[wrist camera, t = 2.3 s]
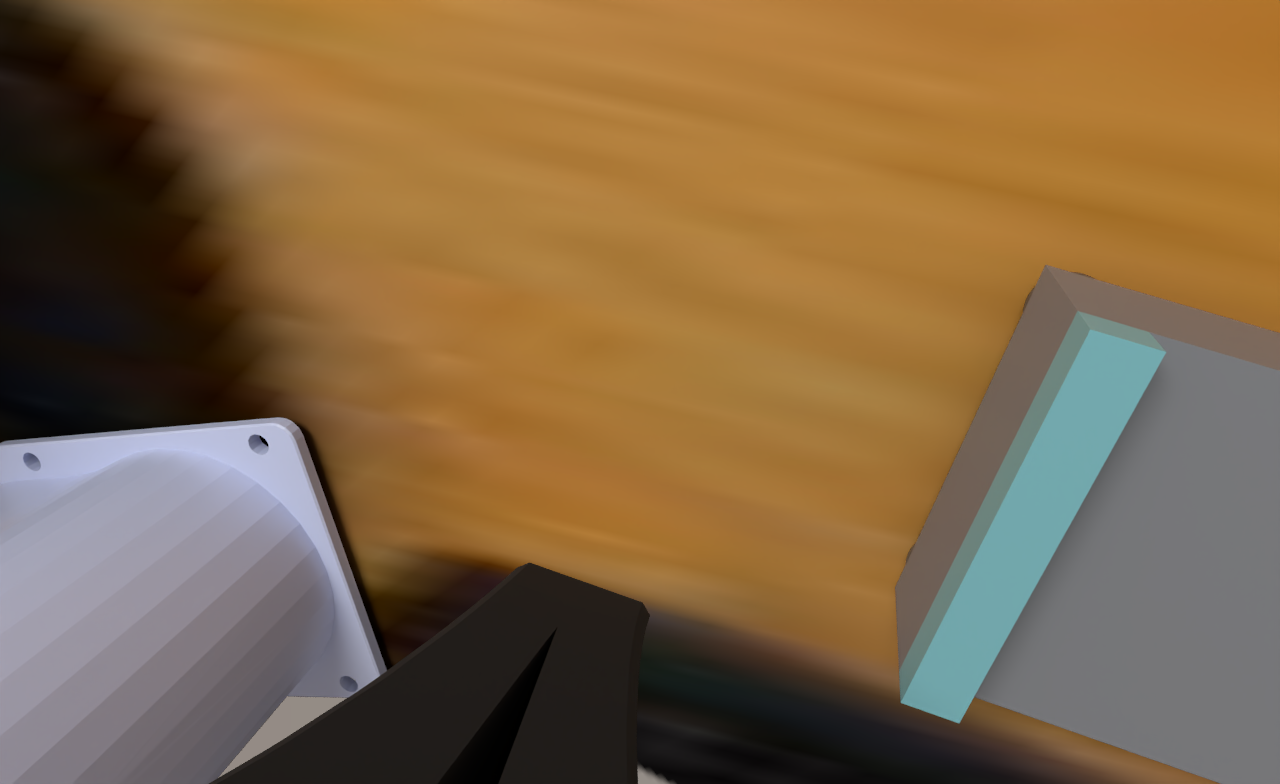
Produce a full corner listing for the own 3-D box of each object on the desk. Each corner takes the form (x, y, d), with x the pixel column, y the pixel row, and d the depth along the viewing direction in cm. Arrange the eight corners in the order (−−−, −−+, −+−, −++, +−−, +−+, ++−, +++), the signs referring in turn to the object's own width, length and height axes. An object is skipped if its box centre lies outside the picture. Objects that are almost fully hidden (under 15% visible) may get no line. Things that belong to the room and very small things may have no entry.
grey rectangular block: (894, 564, 18) (900, 702, 15) (1037, 253, 15) (1090, 329, 12) (1388, 731, 17) (1529, 925, 14) (1651, 431, 14) (1924, 578, 10)
